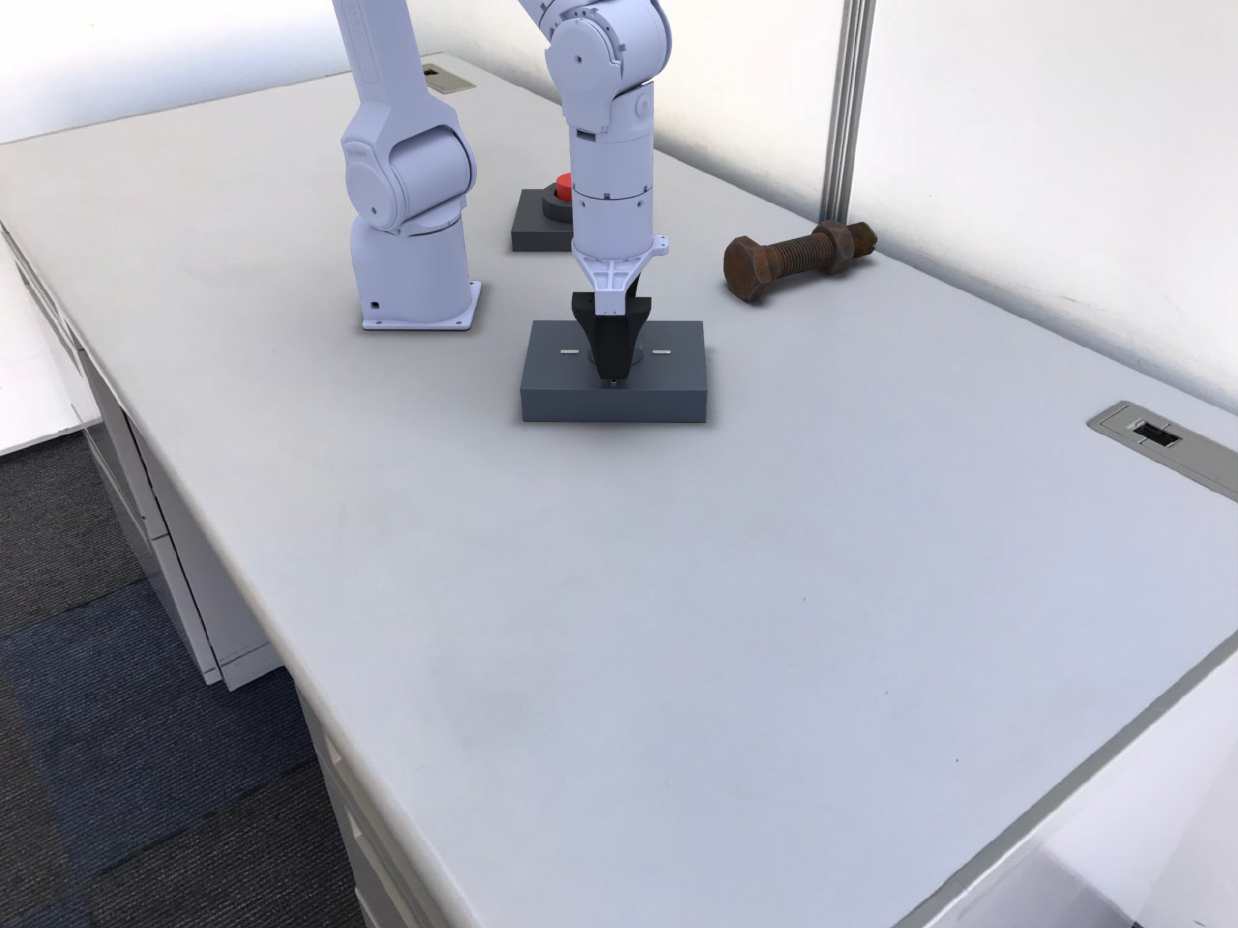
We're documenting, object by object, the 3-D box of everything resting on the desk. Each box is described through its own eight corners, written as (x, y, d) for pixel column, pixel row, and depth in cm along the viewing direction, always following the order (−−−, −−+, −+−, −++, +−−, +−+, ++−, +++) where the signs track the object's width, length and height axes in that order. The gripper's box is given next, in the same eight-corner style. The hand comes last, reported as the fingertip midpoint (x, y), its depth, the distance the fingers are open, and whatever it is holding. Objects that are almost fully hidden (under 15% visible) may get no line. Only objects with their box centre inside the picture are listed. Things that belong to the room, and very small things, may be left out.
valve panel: (522, 421, 76) (519, 387, 74) (535, 350, 84) (532, 318, 82) (705, 422, 76) (707, 388, 74) (701, 351, 84) (702, 318, 82)
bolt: (867, 276, 97) (739, 312, 91) (842, 235, 98) (715, 267, 92) (896, 240, 92) (763, 275, 86) (870, 197, 93) (737, 228, 87)
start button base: (512, 252, 98) (509, 214, 96) (523, 208, 106) (520, 172, 103) (634, 252, 98) (634, 214, 95) (636, 208, 105) (635, 172, 103)
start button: (555, 204, 98) (554, 187, 97) (558, 188, 101) (557, 172, 100) (592, 203, 98) (591, 187, 97) (593, 188, 101) (593, 172, 100)
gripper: (670, 229, 63) (667, 403, 72) (668, 143, 75) (666, 302, 83) (560, 229, 64) (570, 402, 72) (575, 143, 75) (582, 302, 84)
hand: (615, 349), depth 78 cm, fingers open, 7 cm apart
